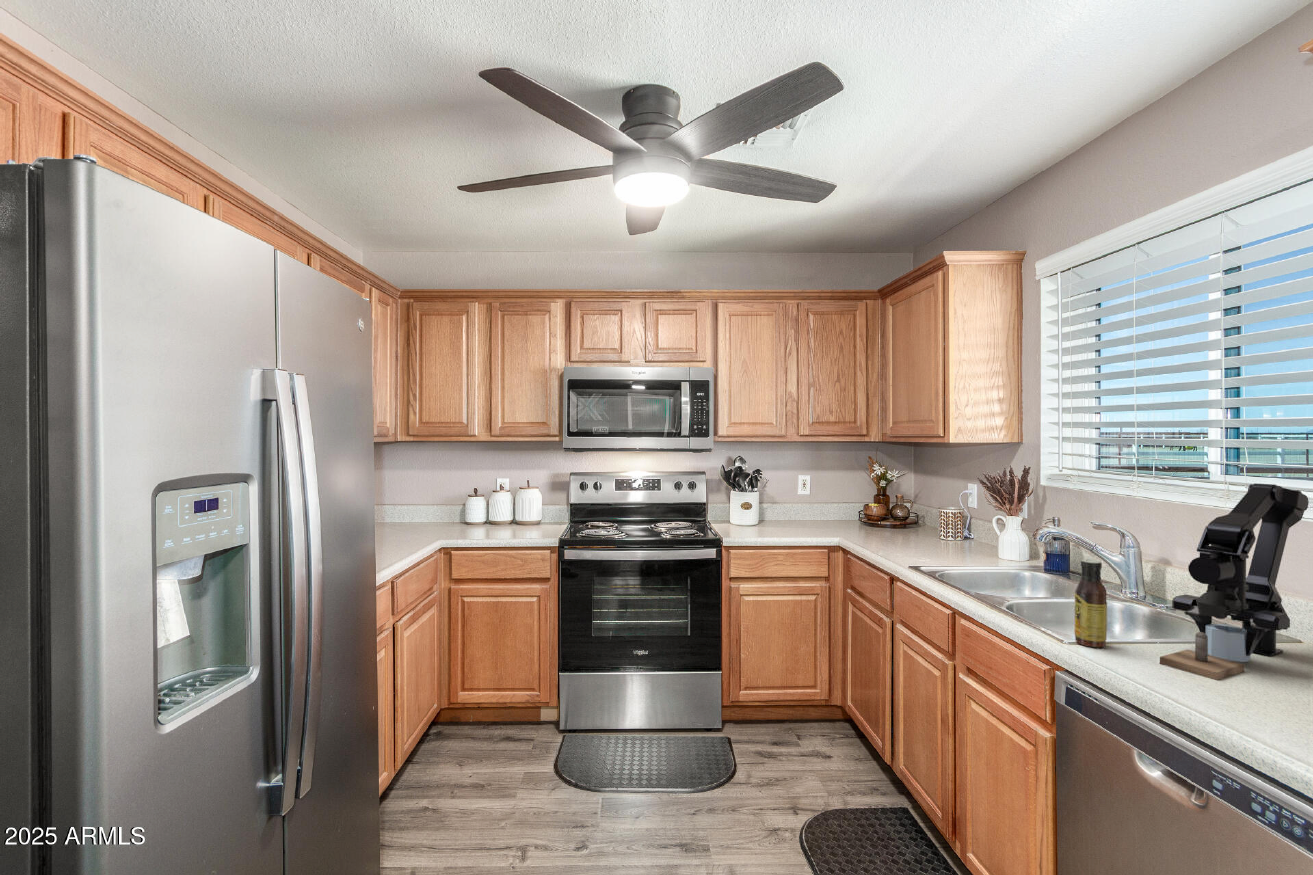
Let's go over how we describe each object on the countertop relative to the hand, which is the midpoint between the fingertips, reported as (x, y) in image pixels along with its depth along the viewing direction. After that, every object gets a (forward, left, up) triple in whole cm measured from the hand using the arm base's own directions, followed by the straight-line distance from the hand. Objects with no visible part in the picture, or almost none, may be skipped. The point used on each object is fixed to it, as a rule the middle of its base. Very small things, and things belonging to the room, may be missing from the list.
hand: (1227, 650), depth 139 cm
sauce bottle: (+17, -19, -2) cm, 26 cm away
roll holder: (+11, 0, -2) cm, 11 cm away
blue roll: (0, 0, -1) cm, 1 cm away
